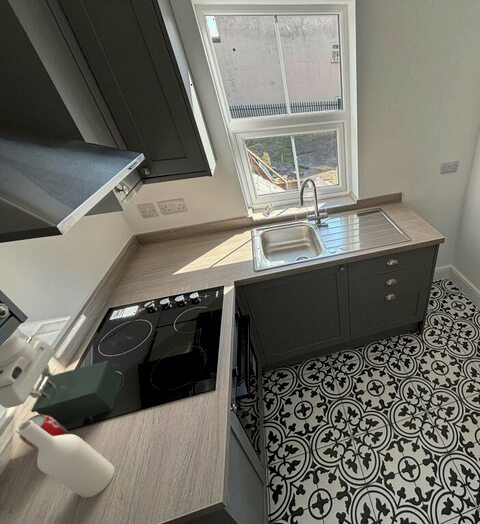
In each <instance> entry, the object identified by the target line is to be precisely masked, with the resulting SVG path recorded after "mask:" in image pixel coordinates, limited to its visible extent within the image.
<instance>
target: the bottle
mask: <svg viewBox="0 0 480 524" xmlns="http://www.w3.org/2000/svg"><path fill="white" fill-rule="evenodd" d="M27 420H28V419H27ZM27 420H25V421H23V422H21V423H20V424H19V425H18V426H17V427H16V433H17V434H18V435H19V434H20V435H22V436H23V437H24V438H26V439H27V440H29V441H30V442H31V443H33V444H34V445H36V446H37V447H38V448H39V451H37V457H36V465H37V468H38V469H39V470H40V471H41V472H43V473H44V474H45V475H47V476H48V477H51V478H52V479H53V480H55V481H56V482H58V483H59V484H61V485H63V486H64V487H66V488H67V489H69V490H70V491H72V492H74V493H75V494H77V495H79V496H80V497H81V498H92V497H94V496H96V495H99V493H101V492H102V491H104V490H105V488H106V487H108V486H109V484H110V482H111V481H112V479H113V477H114V475H115V467H114V465H113V464H112V463H111V462H110V461H109V460H107V459H106V457H104V456H103V455H101V454H100V453H99V452H98V451H97V450H95V448H93V447H92V446H90V445H89V444H88V443H87V442H86V440H85V441H84V439H82V438H81V437H79V436H78V435H76V434H73V433H70V434H66V435H59V436H52V435H50V434H49V433H47V432H46V431H45V430H43V429H42V428H41V427H39V426H38V425H37V424H35V423H34V422H33V421H31V420H28V421H27ZM20 435H19V436H20Z"/></svg>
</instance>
